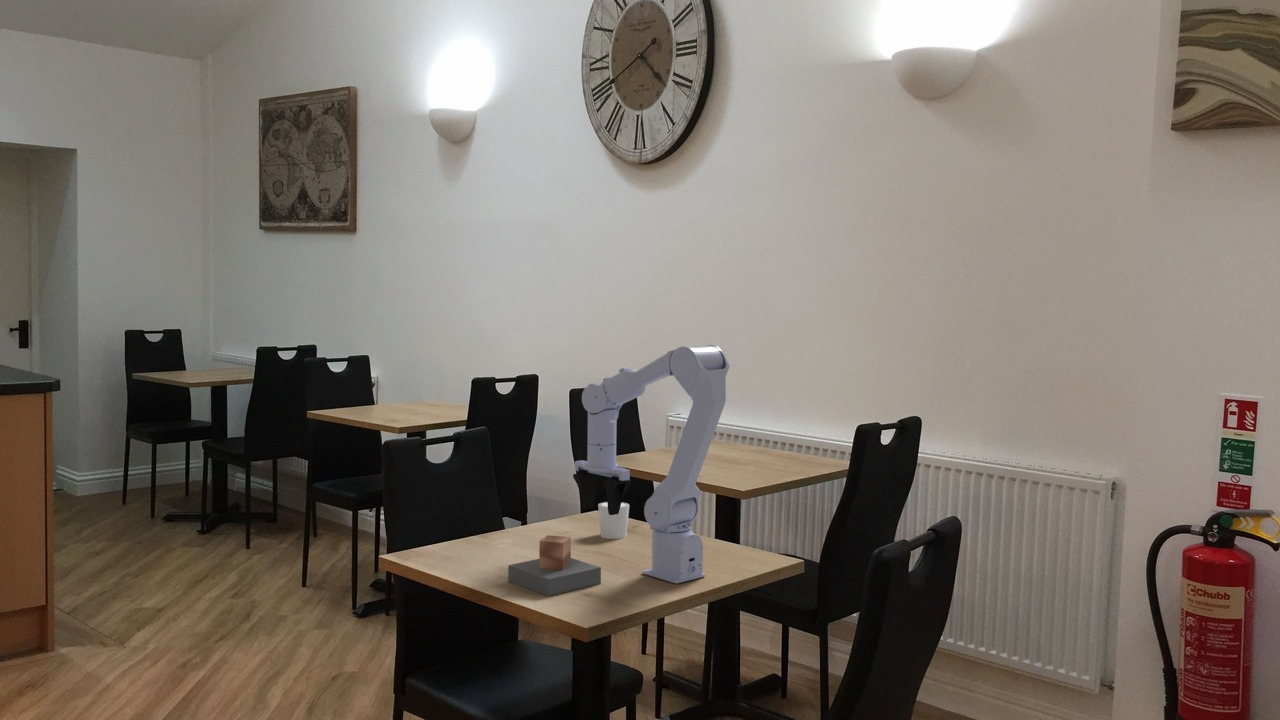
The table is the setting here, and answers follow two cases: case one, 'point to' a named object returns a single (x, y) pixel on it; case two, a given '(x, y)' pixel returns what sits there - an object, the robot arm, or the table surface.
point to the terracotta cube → (555, 552)
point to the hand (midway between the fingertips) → (601, 511)
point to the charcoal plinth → (554, 576)
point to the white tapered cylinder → (613, 521)
